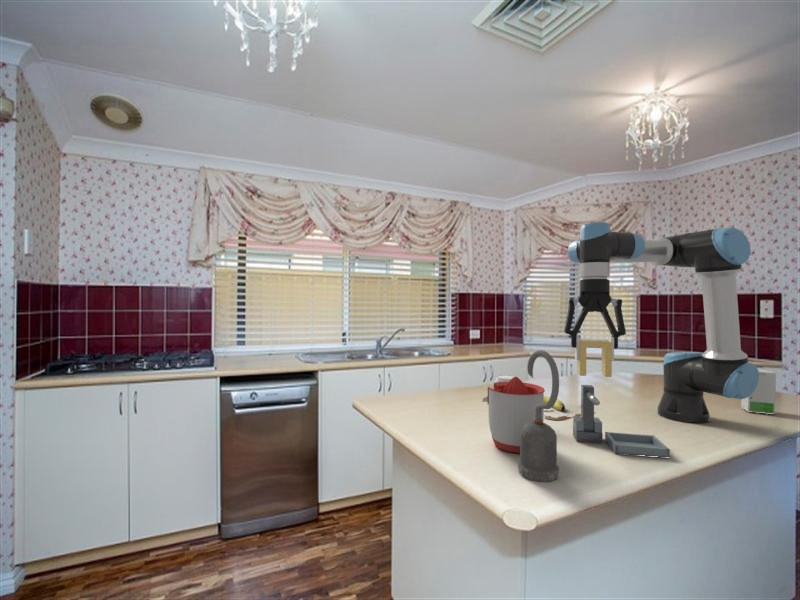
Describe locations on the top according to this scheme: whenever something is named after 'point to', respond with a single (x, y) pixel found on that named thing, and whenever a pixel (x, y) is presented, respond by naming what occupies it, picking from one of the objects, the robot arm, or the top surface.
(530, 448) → the hook
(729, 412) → the top surface
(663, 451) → the tray
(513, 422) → the citrus juicer
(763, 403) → the skincare box
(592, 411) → the grey faucet post
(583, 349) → the wooden arch block
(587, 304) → the robot arm
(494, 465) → the top surface
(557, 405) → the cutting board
